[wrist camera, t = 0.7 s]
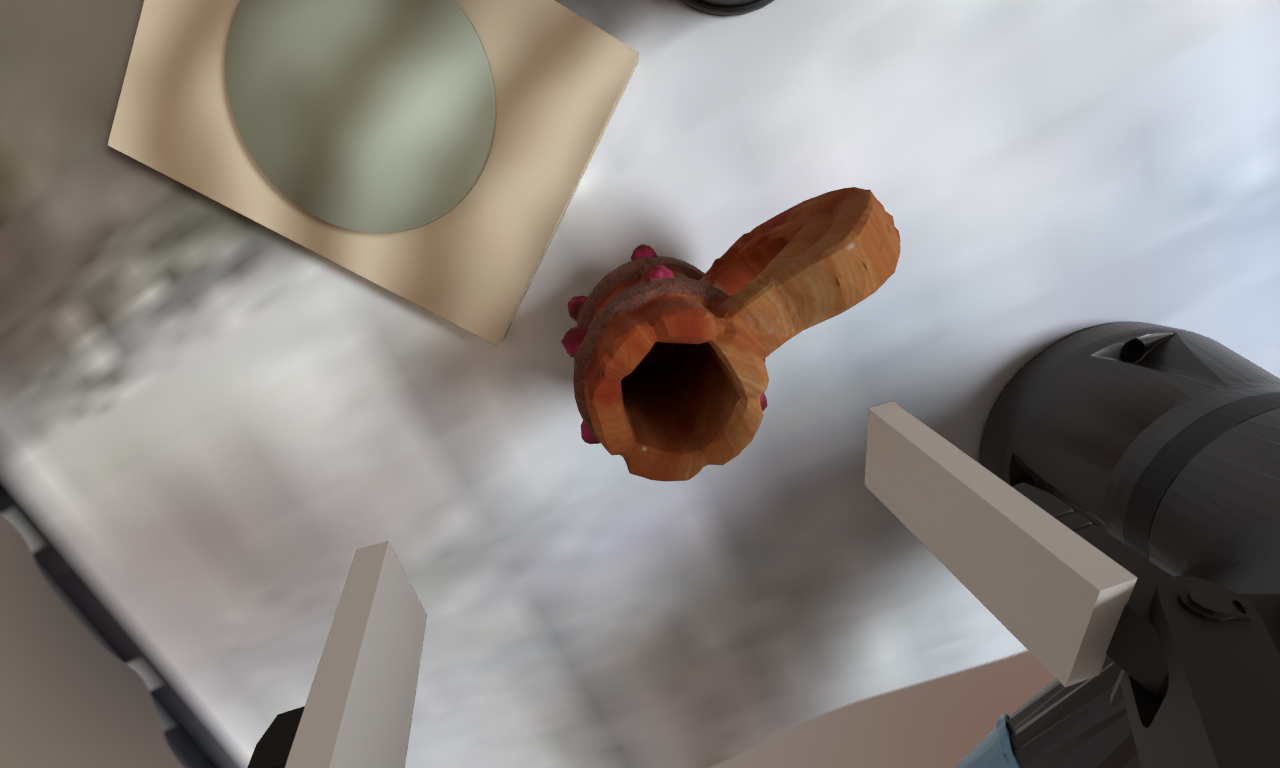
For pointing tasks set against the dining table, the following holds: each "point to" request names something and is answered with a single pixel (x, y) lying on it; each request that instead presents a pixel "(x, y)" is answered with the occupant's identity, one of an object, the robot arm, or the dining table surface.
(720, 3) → the french press
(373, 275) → the serving board
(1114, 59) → the dining table surface
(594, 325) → the mug
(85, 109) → the dining table surface
